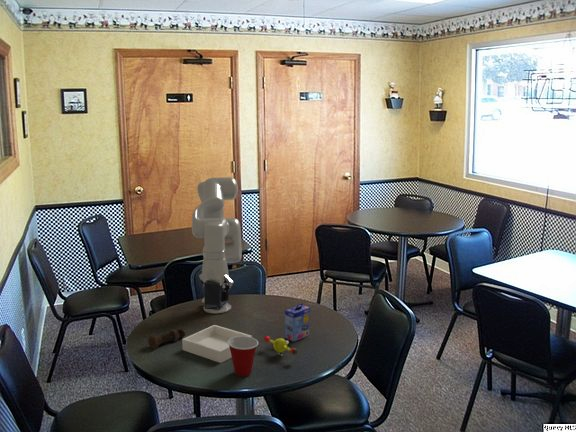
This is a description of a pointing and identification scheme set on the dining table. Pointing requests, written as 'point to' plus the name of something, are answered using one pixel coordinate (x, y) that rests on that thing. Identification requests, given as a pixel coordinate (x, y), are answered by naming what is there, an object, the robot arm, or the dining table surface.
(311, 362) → the dining table surface
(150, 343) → the bolt
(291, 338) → the ink cartridge box
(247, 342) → the plastic cup
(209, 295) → the small box
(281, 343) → the toy figure
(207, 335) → the tray
